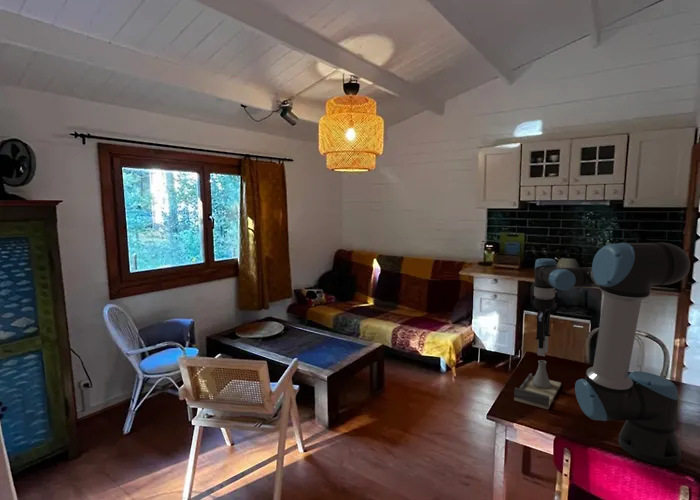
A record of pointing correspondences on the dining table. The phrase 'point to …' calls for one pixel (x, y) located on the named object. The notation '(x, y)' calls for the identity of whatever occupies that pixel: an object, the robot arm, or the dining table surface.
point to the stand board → (536, 393)
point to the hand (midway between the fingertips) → (542, 353)
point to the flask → (541, 376)
